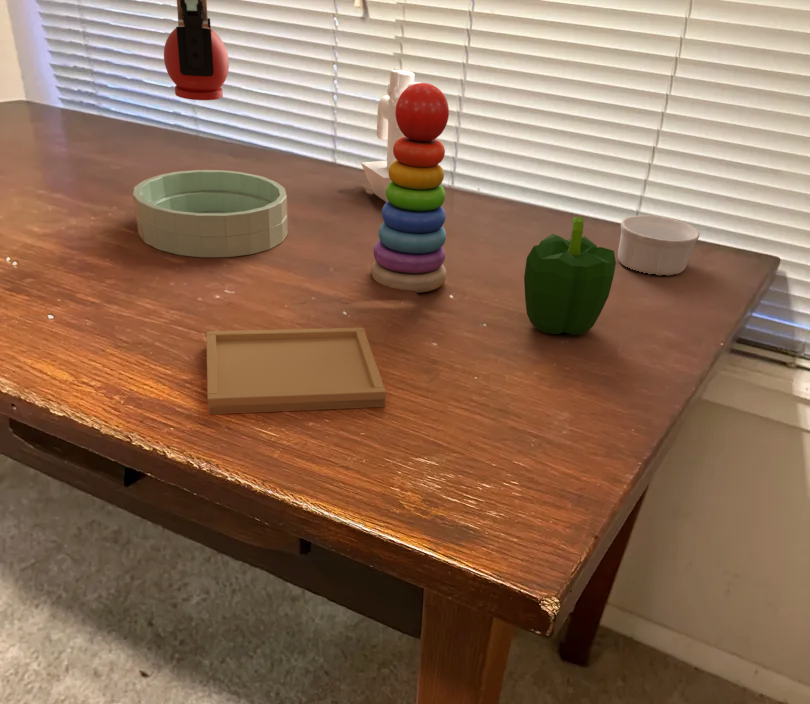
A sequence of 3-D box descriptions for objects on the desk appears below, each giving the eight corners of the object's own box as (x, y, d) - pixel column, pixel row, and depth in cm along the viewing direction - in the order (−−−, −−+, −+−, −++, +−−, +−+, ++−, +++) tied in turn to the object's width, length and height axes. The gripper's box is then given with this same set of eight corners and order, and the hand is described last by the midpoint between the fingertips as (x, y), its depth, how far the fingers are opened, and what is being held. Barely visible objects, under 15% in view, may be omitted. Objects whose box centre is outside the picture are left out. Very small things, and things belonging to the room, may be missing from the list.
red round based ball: (166, 100, 81) (158, 12, 76) (168, 87, 86) (160, 4, 81) (231, 103, 82) (227, 17, 78) (229, 90, 87) (225, 9, 83)
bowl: (135, 263, 86) (128, 215, 83) (143, 212, 98) (137, 169, 95) (293, 262, 89) (292, 215, 86) (281, 213, 101) (280, 170, 98)
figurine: (403, 184, 114) (410, 62, 105) (435, 205, 108) (446, 77, 98) (356, 188, 111) (359, 63, 102) (386, 210, 105) (392, 78, 95)
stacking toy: (440, 300, 83) (459, 96, 72) (364, 291, 84) (370, 87, 72) (449, 272, 90) (468, 80, 78) (378, 263, 90) (386, 72, 78)
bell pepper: (585, 353, 76) (608, 246, 70) (504, 330, 79) (520, 225, 72) (613, 322, 82) (637, 221, 75) (537, 302, 85) (554, 203, 78)
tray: (208, 414, 63) (207, 398, 62) (207, 345, 72) (206, 331, 72) (385, 407, 66) (386, 391, 65) (363, 341, 75) (363, 327, 74)
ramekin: (626, 245, 100) (634, 209, 97) (697, 262, 97) (708, 225, 94) (602, 266, 94) (610, 228, 91) (677, 285, 91) (688, 246, 88)
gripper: (141, -165, 77) (161, 52, 88) (129, -173, 64) (155, 83, 75) (221, -157, 79) (232, 56, 90) (226, -163, 66) (238, 87, 77)
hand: (197, 66), depth 83 cm, fingers closed on red round based ball, 6 cm apart
